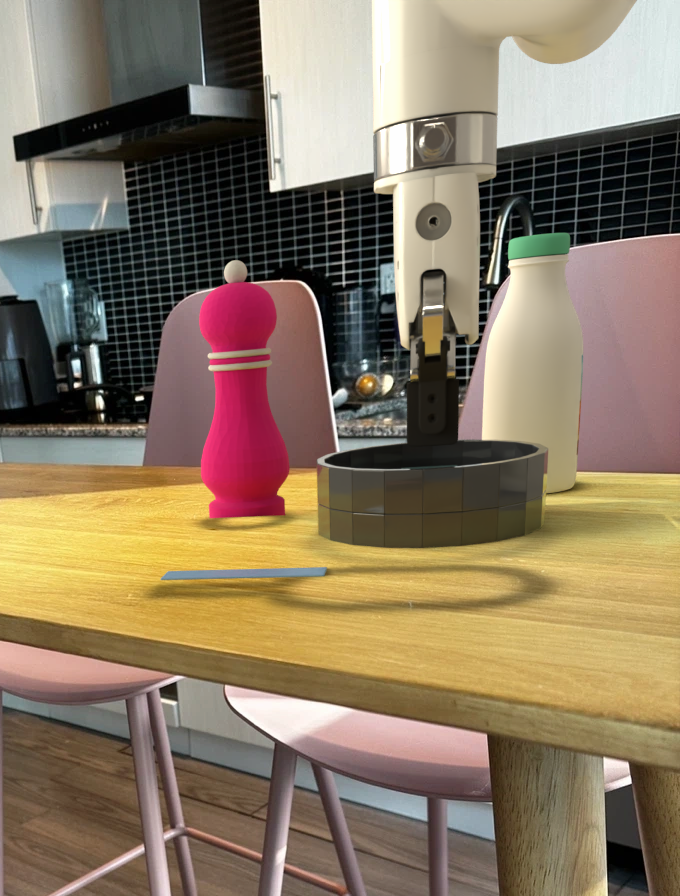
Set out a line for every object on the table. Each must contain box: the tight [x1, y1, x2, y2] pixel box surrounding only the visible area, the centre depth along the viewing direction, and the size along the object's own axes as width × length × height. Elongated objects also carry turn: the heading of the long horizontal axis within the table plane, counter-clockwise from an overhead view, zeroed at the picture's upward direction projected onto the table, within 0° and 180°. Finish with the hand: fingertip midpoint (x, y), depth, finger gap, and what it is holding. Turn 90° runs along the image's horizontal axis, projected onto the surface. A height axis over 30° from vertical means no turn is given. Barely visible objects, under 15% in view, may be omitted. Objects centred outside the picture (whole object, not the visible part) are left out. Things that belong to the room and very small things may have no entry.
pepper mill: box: [198, 259, 291, 519], centre depth 82 cm, size 7×7×20 cm
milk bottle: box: [481, 232, 584, 494], centre depth 85 cm, size 8×8×20 cm
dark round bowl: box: [315, 438, 549, 549], centre depth 72 cm, size 15×15×6 cm
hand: (432, 436), depth 71 cm, fingers open, 9 cm apart
